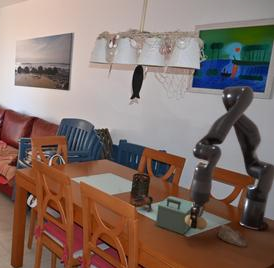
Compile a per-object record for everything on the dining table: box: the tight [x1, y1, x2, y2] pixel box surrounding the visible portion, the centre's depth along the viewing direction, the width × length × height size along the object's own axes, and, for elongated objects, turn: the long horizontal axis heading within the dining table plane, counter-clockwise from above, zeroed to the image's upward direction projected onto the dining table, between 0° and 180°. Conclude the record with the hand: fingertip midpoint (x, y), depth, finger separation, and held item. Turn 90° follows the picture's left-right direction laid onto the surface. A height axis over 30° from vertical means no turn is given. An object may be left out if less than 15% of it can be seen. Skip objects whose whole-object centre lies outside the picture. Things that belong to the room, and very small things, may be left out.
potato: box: [185, 215, 208, 230], centre depth 146 cm, size 9×5×5 cm, turn 50°
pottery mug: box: [132, 194, 154, 212], centre depth 180 cm, size 12×10×8 cm
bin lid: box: [157, 195, 194, 215], centre depth 160 cm, size 18×13×5 cm
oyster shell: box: [217, 224, 246, 247], centre depth 150 cm, size 10×12×5 cm
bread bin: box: [155, 205, 191, 235], centre depth 162 cm, size 17×13×10 cm
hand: (195, 225), depth 146 cm, fingers closed on potato, 5 cm apart
